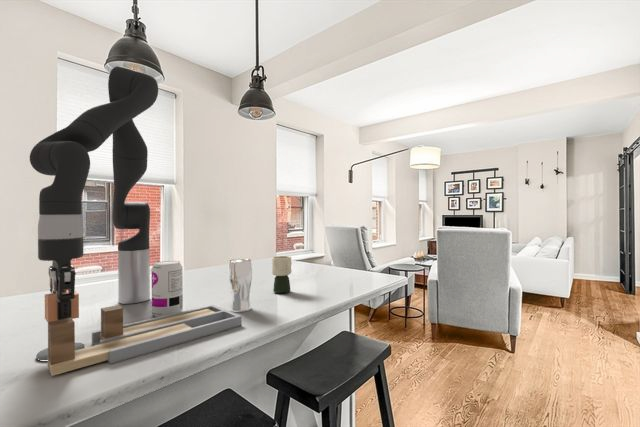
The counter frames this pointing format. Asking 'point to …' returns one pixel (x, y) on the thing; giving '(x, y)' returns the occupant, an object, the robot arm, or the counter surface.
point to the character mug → (281, 273)
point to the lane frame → (198, 329)
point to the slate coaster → (44, 353)
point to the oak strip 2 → (114, 325)
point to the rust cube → (52, 306)
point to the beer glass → (240, 284)
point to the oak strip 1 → (68, 359)
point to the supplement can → (167, 288)
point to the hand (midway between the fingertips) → (62, 316)
